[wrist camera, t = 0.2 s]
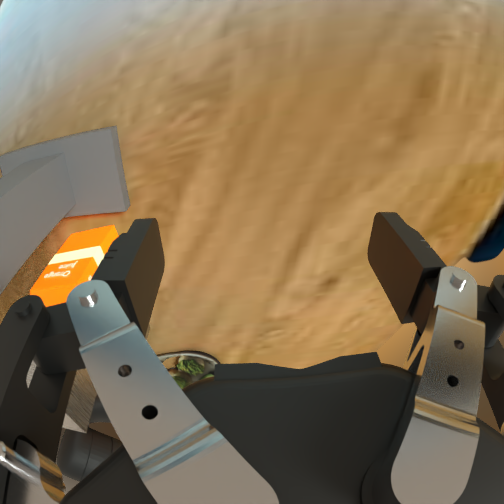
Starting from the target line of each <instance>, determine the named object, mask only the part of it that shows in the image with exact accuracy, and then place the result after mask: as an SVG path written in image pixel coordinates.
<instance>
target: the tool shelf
mask: <svg viewBox="0 0 504 504" xmlns="http://www.w3.org/2000/svg"><path fill="white" fill-rule="evenodd" d="M0 168H1V172H2V176H3V177H1V178H0V295H1V293H2V292H3V290H4V289H5V288H6V286H7V285H8V284H9V282H10V281H11V279H12V278H13V277H14V275H15V274H16V273H17V272H18V270H19V269H20V268H21V266H22V265H23V264H24V263H25V261H26V260H27V259H28V258H29V256H30V255H31V254H32V253H33V251H34V250H35V249H36V248H37V247H38V245H39V244H40V243H41V242H42V241H43V240H44V238H45V237H46V236H47V235H48V234H49V233H50V231H51V230H52V229H53V228H54V227H55V226H56V225H57V224H58V223H59V221H60V220H61V219H62V218H63V217H71V216H81V215H91V214H101V213H113V212H124V211H127V209H128V208H129V206H130V201H129V196H128V191H127V186H126V181H125V176H124V170H123V165H122V159H121V153H120V147H119V140H118V134H117V127H116V126H112V127H106V128H101V129H96V130H91V131H86V132H82V133H77V134H73V135H69V136H64V137H60V138H56V139H52V140H49V141H45V142H41V143H38V144H34V145H31V146H27V147H24V148H21V149H17V150H14V151H11V152H8V153H5V154H3V155H1V156H0Z"/></svg>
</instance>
